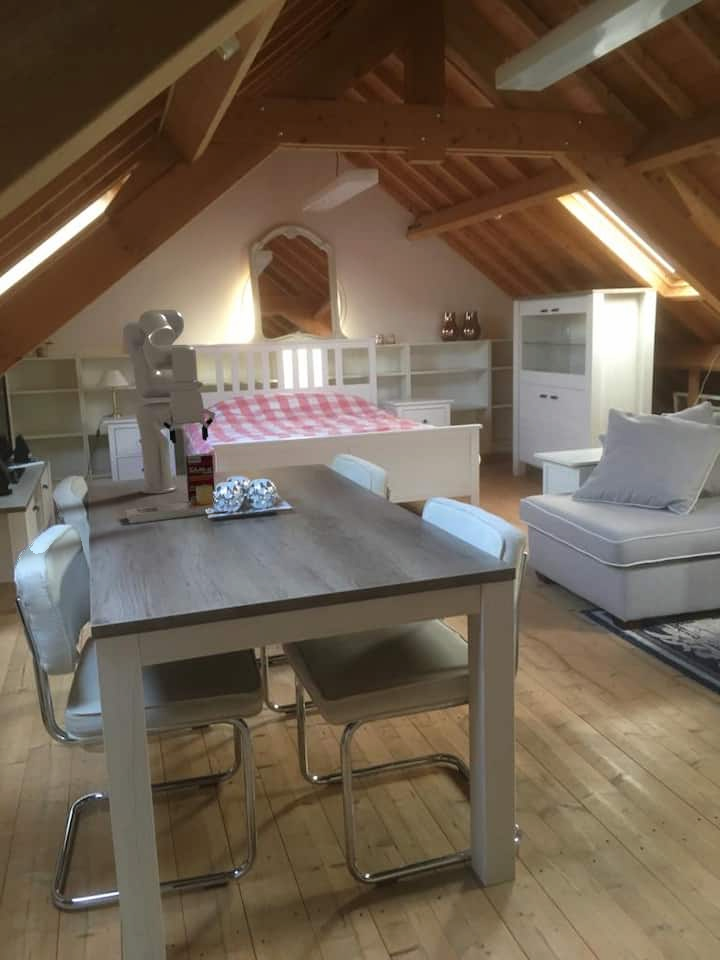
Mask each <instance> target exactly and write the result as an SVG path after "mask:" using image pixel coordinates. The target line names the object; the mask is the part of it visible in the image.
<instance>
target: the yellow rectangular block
mask: <svg viewBox="0 0 720 960" xmlns="http://www.w3.org/2000/svg"><path fill="white" fill-rule="evenodd" d="M196 496H197V505H198V506H200V505H208V504H213V502H214V498H213V487H212V486H211V485H202V486H196Z"/></svg>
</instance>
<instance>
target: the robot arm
mask: <svg viewBox="0 0 720 960" xmlns="http://www.w3.org/2000/svg"><path fill="white" fill-rule="evenodd" d="M184 327H185V321H184V318H183V315H182V313H181V312H179V311H178V310H176V309H150V310H146V311H144V312H142V313H141V314H140V316H139V319H138V321H133V322H128V323H127V324H125V325H124V327H123V329H122V339H123V343H124V344H123V345H124V346H125V349H126V351H127V353H128V355H129V357H130V361H131V363H132V369H133V375H134V383H135V388H136V394H137V395H138V397H139V399H142V400H161V399H168V400H169V401H162V402H160V401H158V402H148V403H147V402H146V403H143V404H141V405H139V406H138V407H137V408H136V411H135V416H136V417H135V418H136V422H137V426H138V431H139V436H140V444H141V445H140V446H141V455H142V464H143V465H142V466H143V475H144V476H143V477H144V487H141V489H140V493H143V494H149V495H150V494H151V495H154V494H155V495H156V494H157V495H158V494H166V493H172V492H174V491H177V489H178V487H177V486H178V485H176V484H173V478H172V466H171V454H170V453H171V452H170V444H169V443H170V442H172V444H176V443H177V439H176V430H175V429H177V428H182V427H184V426H185V425H187V424H198V423H200V424H201V425H202V427H201V437H202V438H201V439H202V440H203V441H205V442H206V441H208V438H209V427H210V425H211V424H212V423H213V422H214V419H215V416H216V413H215V412H213V411H212V410H209V409H206V408H205V407H204V402H203V396H202V391H201V390H200V387H203V386H204V385H203V382H202V381H201V382H200V381H199V380H198V368H197V367H198V365H197V351H196V349H195V347H194V346H190V345H188V344H174V343H175V342H176V341H177V339H178V338H179V337H180V336H181V335H182V333H183V331H184ZM163 370H164V371H163ZM165 370H166V371H165ZM167 370H169V371H167ZM170 370H171V371H170ZM205 414H207V415H208V418H207V419H206V420H205V418H206V415H205ZM167 429H168V431H169V440H170V442H169V440H168V438H167V436H166V435H165V434H164V433H163V432H162V431H161V430H167Z"/></svg>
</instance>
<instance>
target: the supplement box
mask: <svg viewBox="0 0 720 960" xmlns="http://www.w3.org/2000/svg"><path fill="white" fill-rule="evenodd" d="M213 456H214V455H213V454H212V453H211V452H208V453H195V454H185V465H186V466H185V469H186V485H187V486H186V487H187V498H188V502H191V501H197V496H196V486H202V485H211V486H212V487H213V491H214V490H215V491H216V489H215V488H216V487H215V477H214V475H215V474H214V457H213Z"/></svg>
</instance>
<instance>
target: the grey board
mask: <svg viewBox="0 0 720 960" xmlns="http://www.w3.org/2000/svg"><path fill="white" fill-rule="evenodd" d="M213 506H214V505H213V504H208V505H200V506H198V505H197V501H191V502H189V501H188V502H181V503H180V502H179V503H170V504H163V505H156V506H155V505H154V506H145V507H137V508H130V509H125V517H127V518H126V520H127V521H128V523H129V524H130V523H131V524H137V523H138V522H139V523H144V522H145V523H147V522H154V521H155V522H156V521H162V520H171V519H179V518H186V517H187V518H188V517H193V516H194V517H196V516H203V515H207V514H206V512H205V510H206V509H208V508H211V507H213ZM139 523H138V524H139Z"/></svg>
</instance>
